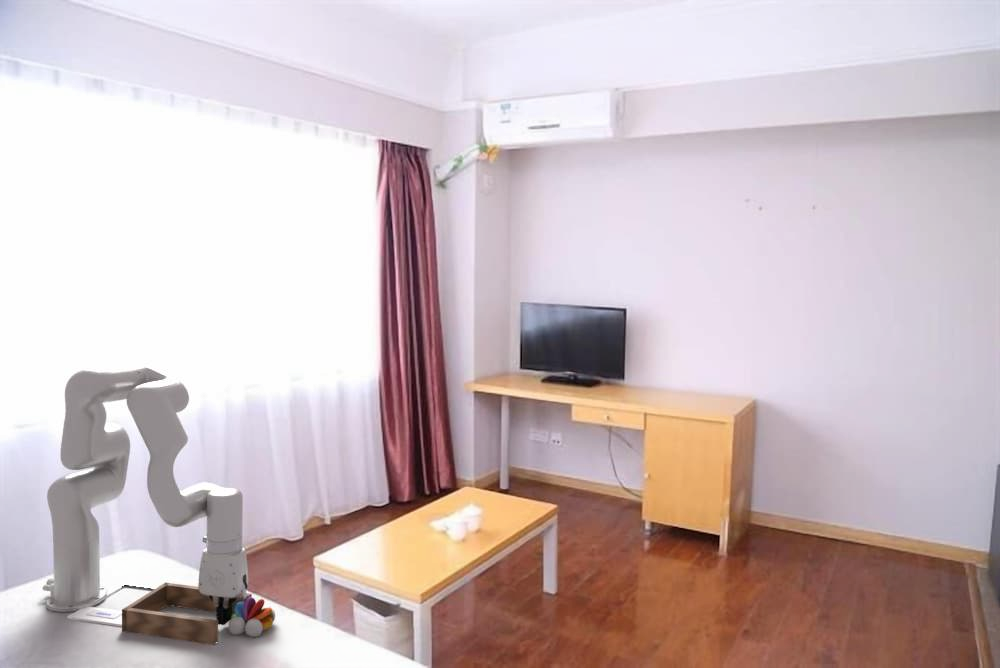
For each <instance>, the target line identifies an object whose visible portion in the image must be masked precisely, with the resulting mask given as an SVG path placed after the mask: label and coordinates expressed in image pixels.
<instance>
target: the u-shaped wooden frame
mask: <svg viewBox="0 0 1000 668" xmlns="http://www.w3.org/2000/svg"><path fill="white" fill-rule="evenodd" d="M155 588H156V589H152V590H151V591H149V592H148V593H146V594H145V595H143V596H142V597H140V598H138V599H136V600H135V601H134V602H132V603H130V604H129V605H127V606H125V607H123V608H122V609H121V611H122V627H121V632H125V633H131V634H132V633H133V634H140V635H144V636H152V637H159V638H164V639H165V638H166V639H173V640H178V641H184V642H191V643H200V644H205V643H207V644H206V645H211V644H215V643H216V642H218V643H219V625H218V620H217V619H212V618H205V617H199V616H198V617H197V616H190V615H183V614H177V613H176V614H175V613H170V612H162V611H161V610H162V609H163V608H165V607H166V606H169V605H174V606H173V607H177V606H180V607H179V608H184V607H185V608H186V609H192V610H200V611H206V612H213V613H216V607H215V606H214V604H213V601H212V600H211V599H210V597H207V596H205V595H203V594H202V593H200V592H199V587H198V586H194V585H187V584H182V583H181V584H179V583H173V582H172V583H171V582H164V583H161V585H159V586H157V587H155ZM246 594H247V597H246V598H245V599H244V600H242V601H235V602H234V603H233V604H232V615H234V614H235V612H234V608H235V605H236V604H237V603H239V602H245V600H246V599H247V598H249V597H252V595H253V594H252V593H249V592H246ZM252 598H253V597H252ZM165 605H166V606H165ZM164 606H165V607H164ZM162 607H163V608H162ZM161 608H162V609H161ZM185 608H184V609H185ZM158 610H159V611H158ZM215 645H216V644H215Z"/></svg>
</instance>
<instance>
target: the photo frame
mask: <svg viewBox="0 0 1000 668" xmlns="http://www.w3.org/2000/svg"><path fill="white" fill-rule="evenodd" d="M124 585H129V586H128V587H132V586H136V587H135V588H139V587H144V588H143V589H147V588H151V589H150V590H154V589H156V588H157V587H154V586H152V587H151V586H145V585H140V584H139V585H138V584H130V583H129V584H128V583H123V584H122V585H120V586H118V587H116V588H114V589H112V590H111V591H109V592H107V596H106V598H105V599H107V598H109V597H110V596H112V595H114V594H116V593H117V592H119V591H120V589H121V588H122V589H123V587H125V586H124ZM122 586H123V587H122ZM122 589H121V590H122ZM118 590H119V591H118ZM116 591H117V592H116ZM113 593H114V594H113ZM111 594H112V595H111ZM108 596H109V597H108ZM66 617H67V618H66V619H67V620H72V621H79V622H80V621H81V622H87V623H95V624H99V625H100V624H102V625H106V626H115V627H121V628H122V610H116V609H109V608H102V607H95V606H92V607H86V608H83V609H80V610H78V611H73V613H71V614H69V615H67V616H66Z"/></svg>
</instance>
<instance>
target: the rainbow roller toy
mask: <svg viewBox="0 0 1000 668" xmlns="http://www.w3.org/2000/svg"><path fill="white" fill-rule="evenodd" d="M264 606H265V599H263V598H262V599H258V601H256V599H255V598H254V597H249V598H247V599H246V600H245V602H239V603H237V604H236V605H235V608H234V612H235V614H232V617H231V620H230V621H229V622H228V631H229V632H230V633H231V634H232V635H236V636H239V635H242V634H243V633H244V632H245V633H246V635H247V636H249V637H252V638H255V637H256V638H257V637H258V636H259V637H260V635H261V634H262V633H263V631H264V630H268V629H271V627H272V626H273V623H274V622H275V620H276V612H275V610H274V609H273V608H272V607H264Z"/></svg>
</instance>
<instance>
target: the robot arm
mask: <svg viewBox="0 0 1000 668" xmlns="http://www.w3.org/2000/svg"><path fill="white" fill-rule="evenodd" d="M64 389H65V390H64V403H65V408H64V409H65V413H64V414H65V415H64V420H63V429H62V436H61V443H60V455H59V456H60V462H61V465H63V467H64V468H65V469H67V470H71V471H75V472H72V473H68V474H65V475H63V476H61V477H59V478H57V479H56V480H54V481H53V482H52V483H51V484H50V486H49V488H48V490H47V494H46V500H47V504H48V508H49V512H50V517H51V524H52V525H51V526H52V543H53V545H52V546H53V548H52V549H53V578H48V580H47V581H46V584H44V585H43V586H42V591H44V592H45V591H46V592H50V596H49V597H48V598H47V600H46V605H45V606H46V608H47V609H48V610H49V611H52V612H56V613H69V612H76V611H78V610H80V609H83V608H86V607H95V606H96V605H99V604H100V603H102V602H103V601H105V599H107V598H106V596H107V593H108V589H107V588H106V586H105V587H104V586H102V585H101V583H100V582H101V578H100V577H101V576H100V575H101V574H100V573H101V569H100V568H101V567H100V566H101V565H100V563H101V562H100V527H99V526H100V525H99V523H98V520H97V519H96V517H95V516H94V514H93V513H92V509H93V508H96V507H97V506H98V507H99V506H101V505H104V504H106V503H109V502H111V501H113V500H116V499H117V498H118V497H120V495H121V494H123V493H122V492H124V488H125V485H126V480H127V475H128V469H129V468H128V466H129V460H130V454H131V440H130V437H129V434H128V433H127V430H126V429H124V427H123V426H121V425H120V424H118V423H107V411H106V407H105V405H104V403H111V402H117V401H123V400H126V406H127V408H128V411H129V413H130V415H131V418H132V420H133V422H134V423H135V426H136V427H137V429H138V432H139V434H140V437H142V440H143V442H144V445H145V446H146V448H147V450H148V452H149V457H150V458H149V461H148V462H149V463H148V465H147V466H148V467H147V474H146V476H147V477H146V483H147V484H146V487H147V492H148V496H149V498H150V499H151V502H152V504H153V506H154V508H155V510H156V513H157V514H158V516H159V517H160V518H161V520H162V521H163V523H165V524H166V525H168V526H170V527H171V528H173V527H174V528H179V527H180V528H181V527H183V526H184V527H185V526H186V525H188V524H191V523H193V522H195V521H197V520H199V519H204V518H206V535H205V536H203V537H202V542H203V543H205V544H206V545H205V547H206V548H205V549H203V551H202V554H201V558H200V563H199V564H200V565H199V570H198V571H199V573H198V583H197V584H198V586H197V587H199V592H200V593H202V594H203V595H205V596H207V597H210V599H211V600H212V601H213V604H214V606H215V607H216V612H215V614H216V616H215V618H216V620H218V626H219V625H221V626H225V625H226V624H227V623H229V622H230V620H231V617H232V616H233V614H232V604H233V603H234V602H235V601H242V600H244V599H245V598H246V597H247V594H246V593H247V590H248V588H249V587H248V586H249V571H248V570H249V569H248V566H249V565H248V559H247V554H246V549H245V548H244V547H243V514H244V513H243V507H244V506H243V505H244V503H243V500H244V499H243V498H244V497H243V493H242V491H241V490H239V489H238V488H234V487H221V486H219V485H217V484H214V483H212V482H199V483H197V484H196V483H195V484H194V485H191V486H188V487H186V488H183V489H181V490H180V489H179V487H178V484H177V482H176V479H175V475H174V466H175V461H176V459H177V457H178V455H179V454H180V452H181V451H182V450H183V448H184V447H185V446H186V445H187V444H188V441H189V437H188V435H187V433H186V431H185V428H184V427H183V424H182V422H181V420H180V418H179V416H178V414H177V413H180V412H182V411H184V410H185V409H186V408H188V406H189V402H190V394H189V392H188V390H187V388H186V386H185V385H184V383H182V382H181V381H180V380H178V379H176V378H175V377H173V376H171V375H169V374H167V373H164V372H162V371H161V370H157V369H156V368H153V367H152V366H149V365H146V364H144V363H137V362H131V363H122V364H113V365H104V366H97V367H93V368H87V369H82V370H80V371H77V372H75V373H74V374H73V375H72V376H70V378H69V379H68V381H67V382H66V385H65V388H64Z"/></svg>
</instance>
